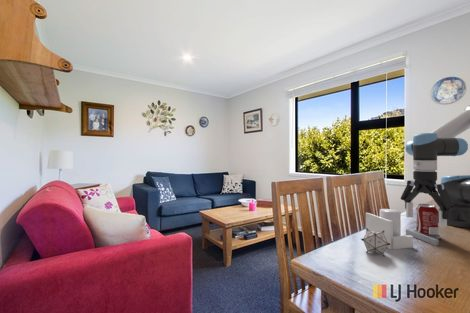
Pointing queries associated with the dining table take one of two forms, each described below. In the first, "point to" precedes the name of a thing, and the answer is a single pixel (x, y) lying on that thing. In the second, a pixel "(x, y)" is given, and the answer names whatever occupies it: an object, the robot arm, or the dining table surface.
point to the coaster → (431, 236)
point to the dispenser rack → (394, 229)
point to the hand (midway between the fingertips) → (425, 221)
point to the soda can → (427, 219)
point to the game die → (375, 242)
